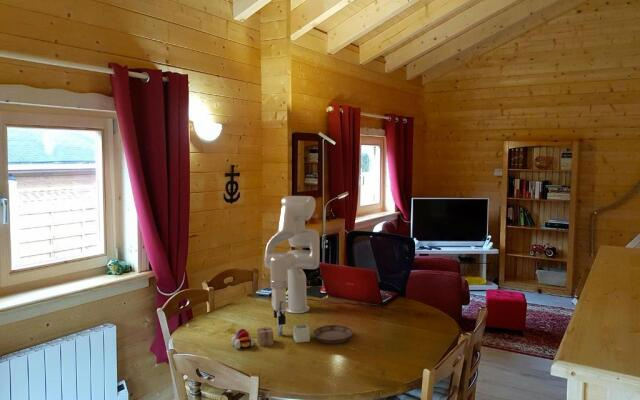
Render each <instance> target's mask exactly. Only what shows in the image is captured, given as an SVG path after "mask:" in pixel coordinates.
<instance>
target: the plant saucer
mask: <svg viewBox="0 0 640 400" xmlns="http://www.w3.org/2000/svg"><path fill="white" fill-rule="evenodd" d="M353 333H354V331H353V330H352V329H351V328H350V327H348V326H344V325H339V324H329V325H328V324H327V325H321V326H320V327H317V328H315V329H314V330H313V332H312V334H313V336H314V337H315V339H317V340H318V341H319V342H320V343H324V344H342V343H345V342H347V341H348V340H349V339H350V338H351V336H352V335H353Z"/></svg>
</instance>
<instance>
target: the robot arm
mask: <svg viewBox="0 0 640 400" xmlns="http://www.w3.org/2000/svg"><path fill="white" fill-rule="evenodd" d="M316 207H317V205H316V199H315V197H313V196H309V195H286V196H284V197H282V198H281V209H280V214H279V215H280V216H279V222H278V229H277V232H276V233H274V235H272V236H271V237H270V239H269V241H268V242H267V243H266V247H265V252H264V257H263V260H264V261H263V262H264V266H265V268H267V269H270V270H269V271H270V272H269V273H270V288H271V307H272V308H273V318H275V319H277V313H276V311H277V310H278V313H279V316H278V324H279V325H286V323H287V321H286V312H287V313H288V314H289V313H290V314H304V313H307V312H309V311H310V309H311V308H310V306H309V305H308V303H307V277H306V273H305V272H304V270H305V269H306V270H315V269H318V268H319V266H320V245H321V244H320V242H321V241H320V233H319V231H318V230H316V229H312V228H311V229H310V228H308V229H307V228H306V221H309V220H310V219H311V217H312V216H313V214H314V212H315V209H316ZM285 241H288V244H289V246H290V247H293V248H302V249H292V250H289V251H288V252H274V250H275V247H277V246H278V245H279V244H281V243H283V242H285ZM303 248H304V249H303ZM307 248H309V250H307ZM303 269H304V270H303ZM286 289H287V292H286ZM286 294H287V295H286ZM286 297H287V298H286ZM280 311H281V312H280Z"/></svg>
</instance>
